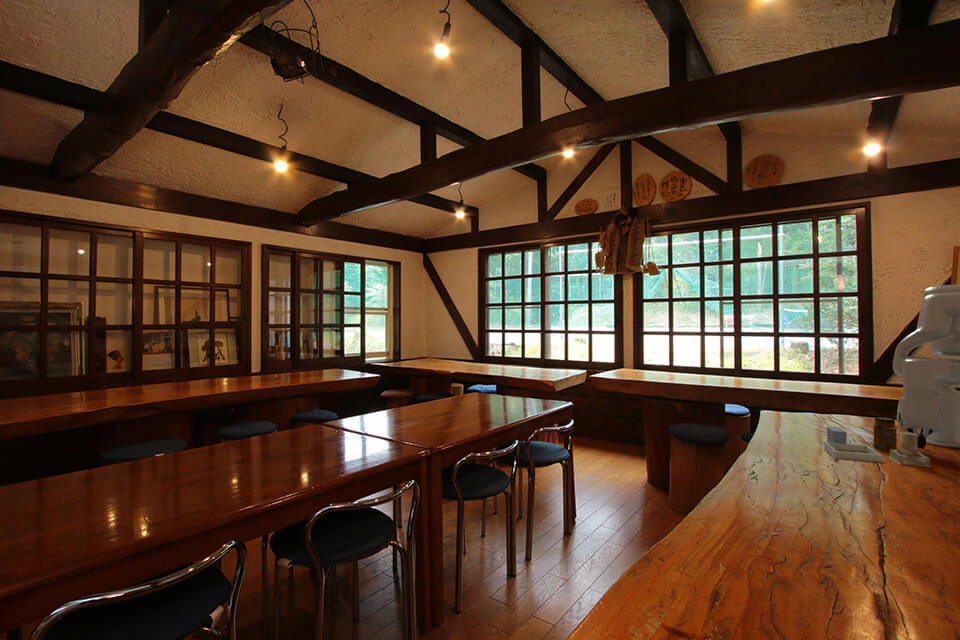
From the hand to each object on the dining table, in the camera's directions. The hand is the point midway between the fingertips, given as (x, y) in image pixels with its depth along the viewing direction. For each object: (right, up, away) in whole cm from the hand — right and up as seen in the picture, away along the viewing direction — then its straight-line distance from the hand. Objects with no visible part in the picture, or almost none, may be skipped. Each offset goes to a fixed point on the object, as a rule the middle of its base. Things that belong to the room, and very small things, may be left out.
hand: (919, 447), depth 150 cm
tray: (-24, -3, 0) cm, 24 cm away
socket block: (-12, -3, -9) cm, 15 cm away
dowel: (-12, -2, -9) cm, 15 cm away
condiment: (-8, -3, +4) cm, 10 cm away
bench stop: (-21, -3, +10) cm, 23 cm away
